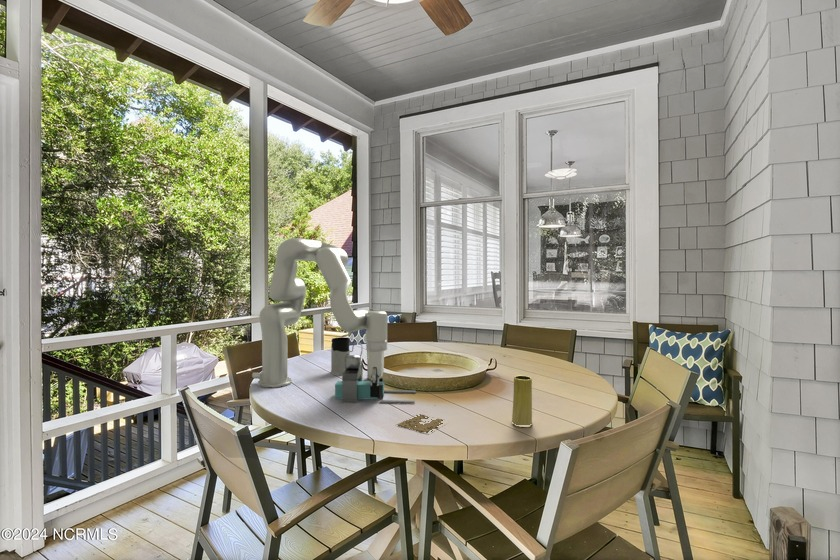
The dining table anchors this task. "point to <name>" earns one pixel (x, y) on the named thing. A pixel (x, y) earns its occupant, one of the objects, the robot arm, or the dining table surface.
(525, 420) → the vase
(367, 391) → the teal rectangular block
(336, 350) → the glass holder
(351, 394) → the housing
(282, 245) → the robot arm
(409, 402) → the pair of grey rods
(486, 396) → the dining table surface
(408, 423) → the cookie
